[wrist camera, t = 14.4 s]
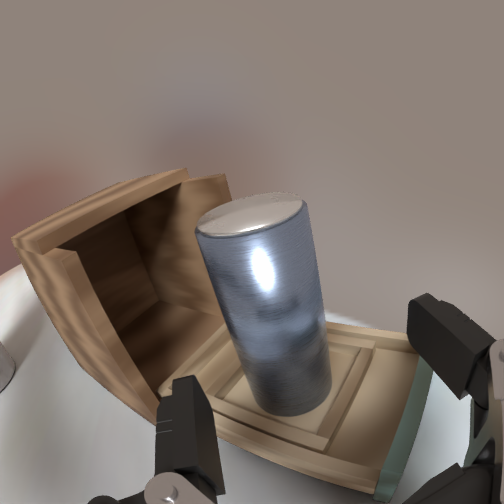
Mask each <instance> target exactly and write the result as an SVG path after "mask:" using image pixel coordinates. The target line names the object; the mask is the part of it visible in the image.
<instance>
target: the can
mask: <svg viewBox="0 0 504 504" xmlns="http://www.w3.org/2000/svg"><path fill="white" fill-rule="evenodd" d="M195 236H196V239H197V242H198V245H199V248H200V251H201V254H202V257H203V260H204V263H205V266H206V269H207V272H208V275H209V278H210V281H211V283H212V286H213V289H214V292H215V295H216V298H217V301H218V303H219V306H220V309H221V312H222V315H223V317H224V320H225V323H226V326H227V328H228V331H229V334H230V337H231V339H232V342H233V345H234V347H235V350H236V353H237V355H238V358H239V361H240V363H241V366H242V368H243V371H244V374H245V376H246V379H247V381H248V384H249V386H250V389H251V391H252V394H253V397H254V399H255V401H256V403H257V404H258V406H259V407H260V408H261V409H263V410H264V411H266V412H268V413H270V414H272V415H276V416H281V417H293V416H299V415H302V414H305V413H308V412H310V411H312V410H314V409H315V408H317V407H318V406H319V405H321V404H322V403H323V402H324V401H325V399H326V398H327V397H328V395H329V393H330V391H331V388H332V373H331V364H330V355H329V346H328V338H327V330H326V322H325V314H324V307H323V299H322V292H321V286H320V279H319V272H318V266H317V260H316V253H315V248H314V241H313V235H312V230H311V224H310V218H309V213H308V207H307V203H306V202H305V201H303V200H302V199H301V197H300V196H298V195H296V194H293V193H286V192H274V193H273V192H272V193H263V194H257V195H252V196H248V197H244V198H240V199H236V200H233V201H230V202H228V203H225V204H223V205H220V206H218V207H216V208H214V209H212V210H210V211H209V212H207V213H206V214H204V215H203V216H202V217H201V218H200V219H199V220H198V222H197V226H196V228H195Z"/></svg>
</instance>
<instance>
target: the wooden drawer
mask: <svg viewBox="0 0 504 504" xmlns="http://www.w3.org/2000/svg"><path fill="white" fill-rule="evenodd" d="M325 322H326V321H325ZM326 330H327V338H328V346H329V355H330V364H331V373H332V388H331V391H330V393H329V395H328V397H327V398H326V399H325V401H324V402H323V403H322V404H321V405H319V406H318V407H317V408H315V409H314V410H312V411H310V412H308V413H305V414H302V415H299V416H293V417H281V416H276V415H272V414H270V413H268V412H266V411H264V410H263V409H261V408H260V407H259V406H258V404H257V403H256V401H255V399H254V397H253V394H252V391H251V389H250V386H249V384H248V381H247V379H246V376H245V374H244V371H243V368H242V366H241V363H240V361H239V358H238V355H237V353H236V350H235V347H234V345H233V342H232V339H231V337H230V334H229V331H228V328H227V326H226V323H224V324H223V325H222V326H221V327H220V328H219V329H218V330H217V331H216V332H215V333H214V334H213V335H212V336H211V337H210V338H209V339H208V340H207V341H206V342H205V343H204V344H203V345H202V346H201V347H200V348H199V349H198V350H197V351H196V352H195V353H194V354H193V355H192V356H191V357H190V358H189V359H188V360H187V361H186V362H184V363H183V364H182V365H181V366H180V367H179V368H178V369H177V370H176V371H175V372H174V373H173V374H172V375H171V376H170V377H169V378H168V379H167V380H166V381H165V382H164V383H163V384H162V385H161V386H160V387H158V388H157V389H156V390H155V391H156V393H157V394H158V396H159V397H160V399H162V397H164V396H169V395H172V381H173V379H176V378H181V377H185V376H189V375H193V374H194V375H195V376H196V378H197V380H198V382H199V383H200V385H201V387H202V389H203V391H204V393H205V395H206V396H207V398H208V400H209V402H210V404H211V407H212V410H213V414H214V420H215V428H216V435H217V437H219V438H221V439H223V440H225V441H227V442H229V443H231V444H234V445H236V446H238V447H240V448H242V449H244V450H246V451H249V452H251V453H253V454H255V455H258V456H260V457H262V458H265V459H267V460H269V461H272V462H274V463H277V464H279V465H282V466H284V467H287V468H289V469H292V470H295V471H297V472H300V473H303V474H306V475H309V476H311V477H314V478H317V479H320V480H323V481H327V482H330V483H333V484H336V485H340V486H343V487H347V488H350V489H354V490H358V491H361V492H365V493H369V494H374V492H375V494H374V497H373V500H377V501H382V502H386V503H389V501H390V499H391V497H392V495H393V493H394V491H395V489H396V487H397V485H398V483H399V480H400V478H401V476H402V474H403V471H404V469H405V466H406V463H407V461H408V458H409V455H410V452H411V449H412V447H413V444H414V441H415V438H416V434H417V431H418V428H419V425H420V421H421V418H422V414H423V411H424V407H425V404H426V400H427V396H428V392H429V388H430V383H431V379H432V375H433V369H432V368H431V367H430V366H429V365H428V364H427V363H426V361H425V360H424V359H423V358H422V357H421V356H420V355H419V354H418V353H417V351H416V350H415V349H414V348H413V347H412V346H411V344H410V343H409V340H408V337H407V333H401V332H393V331H385V330H378V329H371V328H365V327H358V326H351V325H345V324H338V323H332V322H326Z"/></svg>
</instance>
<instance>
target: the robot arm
mask: <svg viewBox="0 0 504 504" xmlns="http://www.w3.org/2000/svg"><path fill="white" fill-rule="evenodd" d="M407 337H408V340H409V343H410V344H411V346H412V347H413V348H414V349H415V350H416V351H417V353H418V354H419V355H420V356H421V357H422V358H423V359H424V360H425V361H426V363H427V364H428V365H429V366H430V367H431V368H432V369H433V370H434V372H435V373H436V374H437V375H438V376H439V377H440V378H441V379H442V381H443V382H444V383H445V384H446V385H447V386H448V387H449V389H450V390H451V391H452V392H453V393H454V394H455V396H456V397H457V398H458V399H459V400H461V399H462V398H464V397H465V396H466V395H468V394H470V395H471V396H472V399H471V410H470V440H469V447H468V451H467V453H466V456H465V460H464V465H463V467H460V466H459V465H458V463H455V464H454V465H452V466H451V467H449V468H448V469H446V470H445V471H443V472H442V473H440V474H438V475H437V476H435V477H433V478H432V479H430V480H429V481H428V482H427V483H425V484H424V485H423V486H422V487H421V488H420V489H419V490H418V491H417V492H415V493H414V494H413V495H412V496H411V497H410V498H408V499H407V500H406V501H405V502H404V503H402V504H504V339H501V340H498V341H497V340H495V339H494V338H493V337H492V336H491V335H489V334H488V333H487V332H486V331H485V330H484V329H482V328H481V327H480V326H479V325H478V324H476V323H475V322H474V321H473V320H472V319H471V320H470V318H469V317H468V316H467V315H465V314H463V313H462V311H460V310H459V309H458V308H457V307H455V306H454V305H452V304H450V303H447V302H445V301H442V300H441V301H438V300H437V299H435V298H434V297H433V296H432V295H430V294H429V293H425V294H423V295H421V296H419V297H417V298H415V299H412V300H411V301H410V302H409V304H408V320H407ZM14 370H15V363H14V361H13V360H12V358H11V357H10V356H9V354H8V353H7V351H6V350H5V348H4V347H3V345H2V344H1V342H0V391H2V389H3V388H4V387H5V386H6V385H7V384H8V382H9V381H10V379H11V377H12V376H13V373H14ZM156 422H157V424H156V442H155V475H154V477H153V478H152V479H151V480H150V481H149V482H148V483H147V485H146V487H145V490H143V491H142V492H140V493H138V494H135V495H133V496H130V497H127V498H124V499H122V500H119V501H117V500H115V499H114V498H112V497H110V496H104V495H102V496H97V497H95V498H93V499H92V500H90V501H89V502H88V504H217V497H216V496H218V495H224V494H226V493H225V487H224V481H223V475H222V468H221V462H220V455H219V449H218V442H217V435H216V428H215V420H214V414H213V410H212V407H211V404H210V402H209V400H208V398H207V396H206V395H205V393H204V391H203V389H202V387H201V385H200V383H199V382H198V380H197V378H196V376H195V375H194V374H193V375H189V376H185V377H181V378H176V379H173V381H172V395H169V396H164V397H162V399H161V401H160V403H159V405H158V408H157V414H156Z"/></svg>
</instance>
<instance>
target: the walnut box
mask: <svg viewBox="0 0 504 504" xmlns="http://www.w3.org/2000/svg"><path fill="white" fill-rule="evenodd" d="M230 201H232V198H231V195H230V191H229V187H228V184H227V180H226V176H225V174H218V175H211V176H204V177H198V178H189V175H188V171H187V168H182V169H177V170H172V171H167V172H163V173H158V174H154V175H149V176H145V177H140V178H136V179H132V180H128V181H124V182H119V183H116V184H114V185H112V186H110V187H108V188H105V189H103V190H101V191H99V192H97V193H94V194H93V195H90V196H89V197H86V198H84V199H82V200H80V201H78V202H76V203H74V204H72V205H70V206H68V207H66V208H64V209H62V210H60V211H58V212H56V213H54V214H52V215H50V216H48V217H46V218H45V219H43V220H41V221H39V222H37V223H35V224H33V225H32V226H30V227H28V228H26V229H25V230H23V231H21V232H19V233H17V234H16V235H14V236H12V237H11V240H12V242H13V245H14V247H15V249H16V252H17V254H18V256H19V259H20V261H21V263H22V265H23V267H24V269H25V272H26V274H27V276H28V278H29V280H30V282H31V284H32V286H33V288H34V290H35V292H36V294H37V296H38V298H39V299H40V301H41V303H42V305H43V307H44V309H45V310H46V312H47V314H48V316H49V317H50V319H51V321H52V323H53V324H54V326H55V328H56V329H57V331H58V333H59V334H60V336H61V338H62V339H63V341H64V342H65V344H66V346H67V347H68V349H69V350H70V352H71V353H72V355H73V356H74V358H75V359H76V361H77V362H78V364H79V365H80V367H81V368H83V369H84V370H85V371H86V372H87V373H88V374H89V375H90V376H92V377H93V378H94V379H95V380H96V381H97V382H99V383H100V384H101V385H102V386H103V387H104V388H106V389H107V390H108V391H109V392H111V393H112V394H113V395H114V396H115V397H117V398H118V399H119V400H121V401H122V402H123V403H124V404H126V405H127V406H128V407H130V408H131V409H132V410H134V411H135V412H136V413H138V414H139V415H140V416H142V417H143V418H145V419H146V420H147V421H149V422H150V423H152V424H153V425H154V426H156V424H157V422H156V414H157V408H158V405H159V403H160V401H161V399H160V397H159V396H158V394H157V393H156V391H155V390H156V389H157V388H158V387H160V386H161V385H162V384H163V383H164V382H165V381H166V380H167V379H168V378H169V377H170V376H171V375H172V374H173V373H174V372H175V371H176V370H177V369H178V368H179V367H180V366H181V365H182V364H183V363H184V362H186V361H187V360H188V359H189V358H190V357H191V356H192V355H193V354H194V353H195V352H196V351H197V350H198V349H199V348H200V347H201V346H202V345H203V344H204V343H205V342H206V341H207V340H208V339H209V338H210V337H211V336H212V335H213V334H214V333H215V332H216V331H217V330H218V329H219V328H220V327H221V326H222V325H223V324H224V323H225V320H224V317H223V315H222V312H221V309H220V306H219V303H218V301H217V298H216V295H215V292H214V289H213V286H212V283H211V281H210V278H209V275H208V272H207V269H206V266H205V263H204V260H203V257H202V254H201V251H200V248H199V245H198V242H197V239H196V236H195V228H196V226H197V222H198V220H199V219H200V218H201V217H202V216H203V215H204V214H206V213H207V212H209V211H210V210H212V209H214V208H216V207H218V206H220V205H223V204H225V203H228V202H230Z"/></svg>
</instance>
